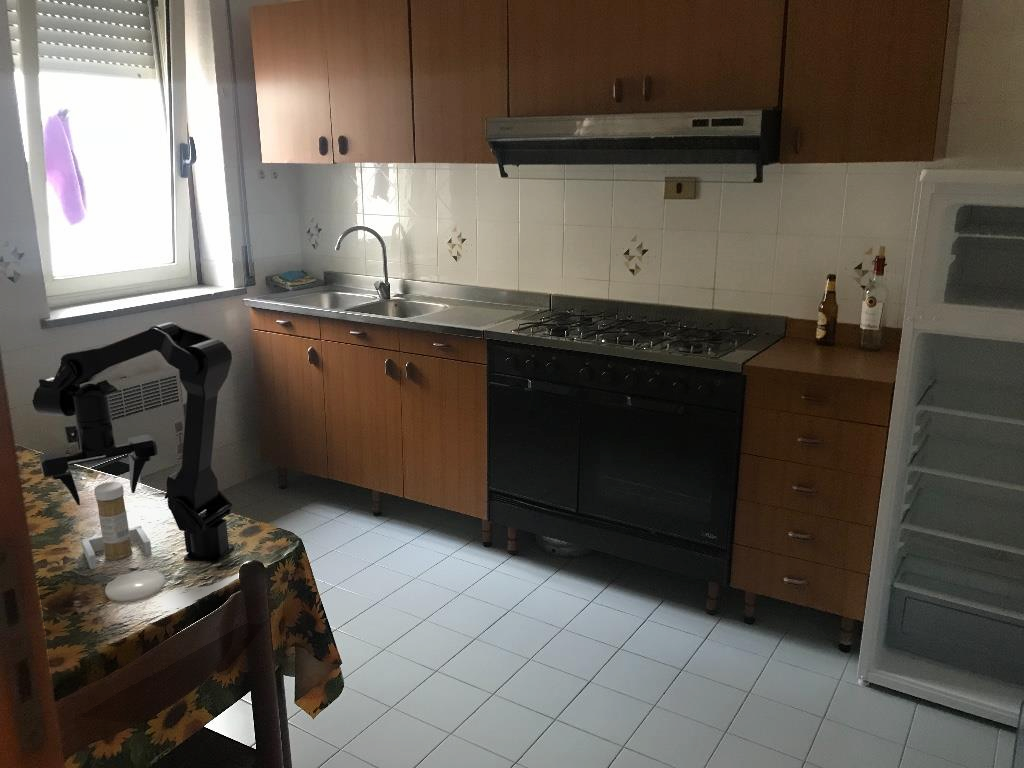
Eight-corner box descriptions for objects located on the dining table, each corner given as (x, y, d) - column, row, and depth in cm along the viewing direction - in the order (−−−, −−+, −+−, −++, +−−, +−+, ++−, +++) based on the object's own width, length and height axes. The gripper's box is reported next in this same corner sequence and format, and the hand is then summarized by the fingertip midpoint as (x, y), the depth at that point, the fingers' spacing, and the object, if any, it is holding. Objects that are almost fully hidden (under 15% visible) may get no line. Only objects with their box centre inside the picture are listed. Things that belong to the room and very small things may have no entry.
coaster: (175, 576, 141) (175, 572, 141) (144, 604, 132) (143, 599, 132) (127, 572, 142) (127, 568, 142) (93, 599, 134) (92, 595, 134)
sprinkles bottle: (126, 547, 152) (116, 478, 148) (136, 554, 149) (126, 485, 145) (100, 555, 149) (89, 486, 145) (110, 563, 146) (100, 492, 142)
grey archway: (83, 552, 150) (81, 539, 149) (142, 537, 156) (140, 525, 155) (91, 569, 144) (88, 556, 143) (151, 553, 149) (150, 541, 149)
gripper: (139, 398, 160) (150, 474, 164) (29, 416, 150) (44, 496, 154) (152, 412, 151) (163, 491, 155) (36, 432, 141) (51, 516, 145)
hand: (106, 498), depth 153 cm, fingers open, 9 cm apart
